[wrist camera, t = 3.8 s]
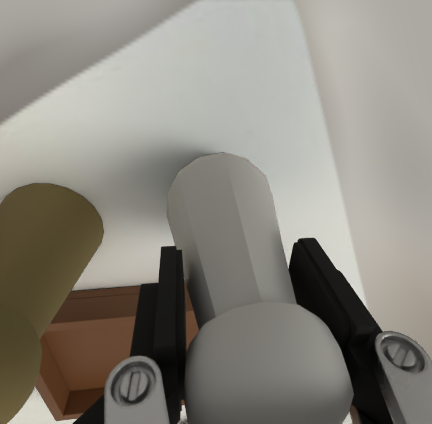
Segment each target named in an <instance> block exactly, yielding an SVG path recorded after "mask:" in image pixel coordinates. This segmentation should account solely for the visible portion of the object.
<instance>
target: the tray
mask: <svg viewBox="0 0 432 424" xmlns="http://www.w3.org/2000/svg"><path fill="white" fill-rule="evenodd" d="M140 287H141V286H133V287H121V288H108V289H95V290H83V291H70V293H69V294H68V296H67V298H66V299H65V301H64V302H63V304H62V305H61V307H60V309H59V310H58V312H57V313H56V315H55V316H54V318H53V320H52V321H51V323H50V324H49V326H48V327H47V329H46V331H45V332H44V334H43V335H42V337H41V338H40V340H39V341H40V344H41V347H42V357H41V364H40V371H39V377H38V379H37V382H36V384H35V387H36V388H37V390H38V392H39V393H40V395H41V397H42V398H43V400H44V402H45V403H46V405H47V407H48V408H49V410H50V412H51V414H52V415H53V417H54V419H55V420H56V421H61V420H69V419H77V418H79V417H80V416H81V415H82V414H83V413H84V412H85V411H86V410H87V409H89V408H90V407H91V406H92V405H93V404H94V403H95V402H96V401H97V400H98V399H99V398H100V397H101V396H102V395H103V394H104V390H105V384H106V381H107V379H108V376H109V374H110V373H111V371H112V370H113V369H114V368H115V366H117V365H118V364H119V363H121V362H122V361H123V360H125V359H128V358H129V357H130V350H131V344H132V337H133V331H134V324H135V318H136V311H137V305H138V298H139V292H140ZM184 287H185V305H186V341H187V350H188V347H189V344H190V342H191V341H192V340H193V338H194V337H195V336H196V334H197V333H198V332H199V328H198V325H197V321H196V318H195V314H194V311H193V307H192V303H191V300H190V296H189V293H188V289H187V286H186V282H184ZM182 405H185V403H184V400H182Z"/></svg>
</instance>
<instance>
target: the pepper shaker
mask: <svg viewBox="0 0 432 424" xmlns="http://www.w3.org/2000/svg"><path fill="white" fill-rule="evenodd" d="M103 233H104V230H103V224H102V219H101V218H100V216H99V214H98V212H97V211H96V209H95V207H94V206H93V205H92V204H90V203H89V202H88V201H87V200H86V199H85V198H84V197H83V196H81V195H79V194H77V193H76V192H74V191H72V190H70V189H68V188H65V187H61V186H57V185H53V184H30V185H26V186H23V187H19V188H17V189H15V190H14V191H13V192H11V193H10V194H9V195H7V196H6V197H5V199H4V200H3V201H2V203H1V204H0V424H7V423H8V422H9V421H10V420H11V419H12V418H13V417H14V416H15V415H16V414H17V413H18V412H19V410H20V409H21V408H22V407H23V405H24V404H25V402H26V401H27V399H28V398H29V396H30V395H31V393H32V392H33V389H34V387H35V384H36V382H37V379H38V377H39V371H40V364H41V357H42V347H41V344H40V341H39V340H40V338H41V337H42V335H43V334H44V332H45V331H46V329H47V327H48V326H49V324H50V323H51V321H52V320H53V318H54V316H55V315H56V313H57V312H58V310H59V309H60V307H61V305H62V304H63V302H64V301H65V299H66V298H67V296H68V294H69V293H70V291H71V290H72V288H73V287H74V285H75V283H76V282H77V280H78V279H79V277H80V276H81V274H82V272H83V271H84V269H85V268H86V266H87V265H88V263H89V261H90V260H91V258H92V257H93V255H94V253H95V252H96V250H97V249H98V247H99V246H100V244H101V242H102V238H103Z"/></svg>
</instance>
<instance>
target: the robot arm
mask: <svg viewBox="0 0 432 424" xmlns="http://www.w3.org/2000/svg"><path fill="white" fill-rule="evenodd" d="M288 270H289V274H290V278H291V283H292V287H293V291H294V295H295V299H296V303H297V305H300V306H301V307H303V308H304V309H306V310H308V311H309V312H311V313H313V314H314V315H316V316H317V317H319V318H320V319H321V320H322V321H323V322H324V323H325V324H326V325H327V326H328V328H329V329H330V331H331V333H332V335H333V336H334V338H335V340H336V341H337V343H338V345H339V347H340V349H341V352H342V355H343V358H344V361H345V364H346V367H347V370H348V373H349V376H350V380H351V384H352V388H353V393H354V396H353V399H352V402H351V406H350V409H349V412H350V415H351V419H352V423H353V424H432V361H431V359H430V357H429V355H428V354H427V353H426V351H425V350H424V349H423V347H421V346H420V345H419V344H418V343H417V342H416V341H414V340H413V339H411V338H410V337H408V336H406V335H404V334H401V333H399V332H394V331H384V332H383V331H382V330H381V329H380V327H379V326H378V324H377V323H376V321H375V320H374V318H373V317H372V316H371V314H370V313H369V311H368V310H367V308H366V307H365V306H364V304H363V303H362V301H361V300H360V298H359V297H358V295H357V294H356V293H355V291H354V290H353V288H352V287H351V285H350V284H349V283H348V281H347V280H346V278H345V277H344V275H343V274H342V273H341V272H340V271H338V270H337V269H336V268H335V266H334V265H333V263H332V262H331V261H330V259H329V258H328V256H327V255H326V253H325V252H324V250H323V249H322V247H321V246H320V244H319V243H318V242H317V240H316V239H315V238H300V239H299V240H298V242H295V243H294V245H293V249H292V254H291V259H290V264H289V269H288ZM186 353H187V341H186V305H185V287H184V272H183V256H182V250H177V248H176V246H167V247H161V257H160V269H159V282H158V283H149V284H141V287H140V292H139V298H138V305H137V311H136V318H135V324H134V331H133V337H132V344H131V350H130V357H129V358H128V359H125V360H123V361H122V362H121V363H119V364H118V365H117V366H115V368H114V369H113V370H112V371H111V373H110V374H109V376H108V379H107V381H106V384H105V390H104V394H103V395H102V396H101V397H100V398H99V399H98V400H97V401H96V402H95V403H94V404H93V405H92V406H91V407H90V408H89V409H87V410H86V411H85V412H84V413H83V414H82V415H81V416H80V417H79V418H78V419H77V420H76V421H75V422H74V423H73V424H177V423H178V422H179V421H180V411H182V400H184V383H185V361H186Z"/></svg>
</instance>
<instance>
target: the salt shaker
mask: <svg viewBox="0 0 432 424" xmlns="http://www.w3.org/2000/svg"><path fill="white" fill-rule="evenodd" d="M167 218H168V221H169V225H170V229H171V232H172V236H173V239H174V243H175V246H176V248H177V250H182V256H183V272H184V278H185V282H186V286H187V289H188V293H189V296H190V300H191V303H192V307H193V311H194V314H195V318H196V321H197V325H198V328H199V332H198V333H197V334H196V336H195V337H194V338H193V340H192V341H191V342H190V344H189V347H188V350H187V353H186V361H185V383H184V403H185V409H186V414H187V420H188V424H342V423H343V421H344V419H345V418H346V416H347V415H348V413H349V409H350V406H351V402H352V399H353V396H354V393H353V388H352V384H351V380H350V376H349V373H348V370H347V367H346V364H345V361H344V358H343V355H342V352H341V349H340V347H339V345H338V343H337V341H336V340H335V338H334V336H333V335H332V333H331V331H330V329H329V328H328V326H327V325H326V324H325V323H324V322H323V321H322V320H321V319H320V318H319V317H317V316H316V315H314V314H313V313H311V312H309V311H308V310H306V309H304V308H303V307H301V306H300V305H297V303H296V299H295V295H294V291H293V287H292V283H291V278H290V274H289V270H288V266H287V262H286V258H285V253H284V249H283V245H282V241H281V236H280V231H279V226H278V221H277V216H276V211H275V206H274V201H273V196H272V193H271V190H270V187H269V184H268V181H267V178H266V176H265V175H264V174H263V173H262V172H261V171H260V170H259V169H258V168H256V167H255V166H254V165H253V164H252V163H251V162H250V161H249V160H247V159H246V158H243V157H239V156H235V155H231V154H228V153H224V152H222V153H217V154H212V155H207V156H202V157H198V158H197V159H195V160H194V161H192V162H191V163H190V164H188V165H187V166H185V167H184V168H183V169H181V170H180V171H179V172H178V174H177V176H176V178H175V180H174V182H173V184H172V186H171V188H170V190H169V192H168V194H167Z"/></svg>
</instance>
